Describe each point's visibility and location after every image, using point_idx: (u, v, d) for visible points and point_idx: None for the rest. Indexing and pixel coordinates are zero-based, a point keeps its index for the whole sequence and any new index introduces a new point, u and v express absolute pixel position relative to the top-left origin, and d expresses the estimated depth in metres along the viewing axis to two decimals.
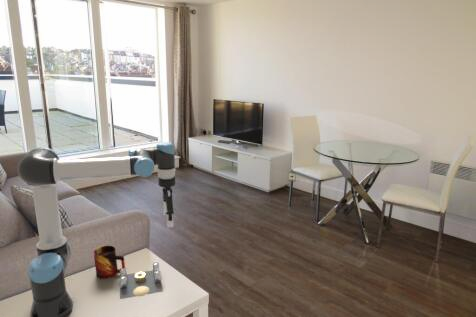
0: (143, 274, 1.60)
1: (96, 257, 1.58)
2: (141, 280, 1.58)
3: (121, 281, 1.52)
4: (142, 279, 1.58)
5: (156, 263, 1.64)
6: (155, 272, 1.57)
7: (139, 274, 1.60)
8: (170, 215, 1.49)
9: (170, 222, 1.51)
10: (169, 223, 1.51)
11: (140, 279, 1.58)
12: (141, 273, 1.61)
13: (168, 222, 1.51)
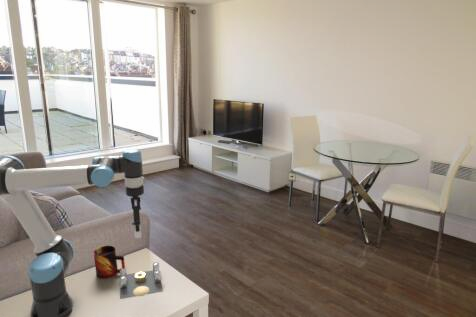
0: (143, 274, 1.60)
1: (96, 257, 1.58)
2: (141, 280, 1.58)
3: (121, 281, 1.52)
4: (142, 279, 1.58)
5: (156, 263, 1.64)
6: (155, 272, 1.57)
7: (139, 274, 1.60)
8: (137, 226, 1.43)
9: (138, 233, 1.45)
10: (137, 234, 1.45)
11: (140, 279, 1.58)
12: (141, 273, 1.61)
13: (135, 233, 1.45)
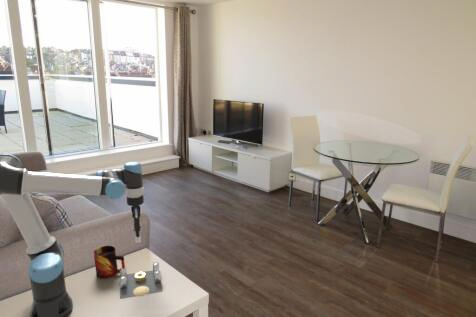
0: (143, 274, 1.60)
1: (96, 257, 1.58)
2: (141, 280, 1.58)
3: (121, 281, 1.52)
4: (142, 279, 1.58)
5: (156, 263, 1.64)
6: (155, 272, 1.57)
7: (139, 274, 1.60)
8: (137, 232, 1.59)
9: (138, 238, 1.61)
10: (137, 239, 1.61)
11: (140, 279, 1.58)
12: (141, 273, 1.61)
13: (136, 238, 1.61)
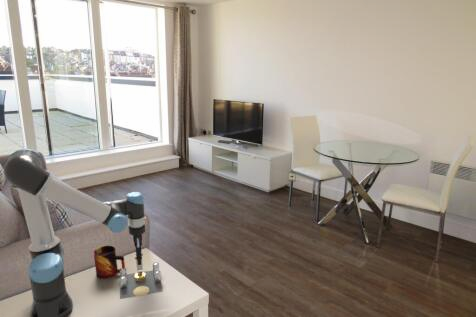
0: (143, 274, 1.60)
1: (96, 257, 1.58)
2: (141, 280, 1.58)
3: (121, 281, 1.52)
4: (142, 279, 1.58)
5: (156, 263, 1.64)
6: (155, 272, 1.57)
7: (139, 274, 1.60)
8: (139, 260, 1.63)
9: (139, 266, 1.65)
10: (138, 266, 1.65)
11: (140, 279, 1.58)
12: (141, 273, 1.61)
13: (137, 266, 1.65)
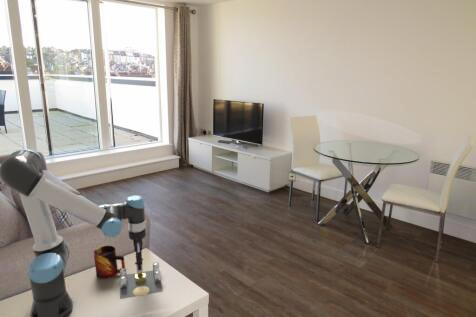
0: (143, 275, 1.59)
1: (96, 257, 1.58)
2: (141, 281, 1.57)
3: (121, 281, 1.52)
4: (142, 280, 1.58)
5: (156, 263, 1.64)
6: (155, 272, 1.57)
7: (139, 275, 1.59)
8: (139, 265, 1.59)
9: (139, 271, 1.61)
10: (139, 272, 1.61)
11: (140, 280, 1.57)
12: (141, 274, 1.60)
13: (138, 271, 1.61)
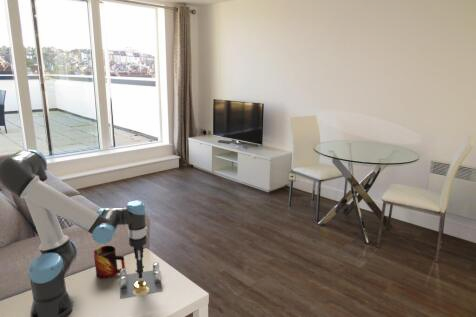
0: (143, 283, 1.53)
1: (96, 257, 1.58)
2: (139, 290, 1.51)
3: (121, 281, 1.52)
4: (141, 289, 1.51)
5: (156, 263, 1.64)
6: (155, 272, 1.57)
7: (139, 283, 1.53)
8: (140, 273, 1.53)
9: (140, 279, 1.55)
10: (139, 280, 1.55)
11: (138, 288, 1.51)
12: (141, 282, 1.54)
13: (138, 279, 1.54)
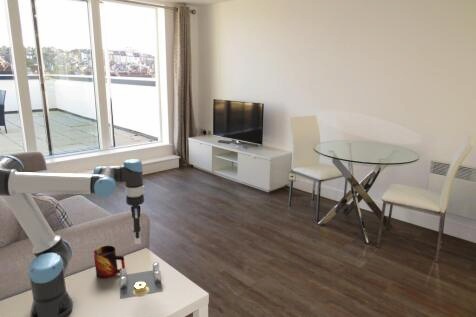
0: (143, 285, 1.52)
1: (96, 257, 1.58)
2: (139, 291, 1.50)
3: (121, 281, 1.52)
4: (141, 290, 1.50)
5: (156, 263, 1.64)
6: (155, 272, 1.57)
7: (139, 284, 1.52)
8: (137, 233, 1.52)
9: (137, 239, 1.54)
10: (136, 240, 1.54)
11: (138, 290, 1.50)
12: (141, 283, 1.53)
13: (135, 239, 1.54)
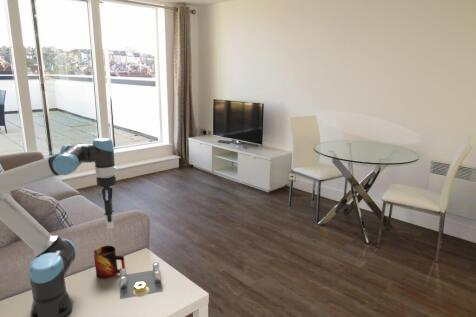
0: (143, 285, 1.52)
1: (96, 257, 1.58)
2: (139, 291, 1.50)
3: (121, 281, 1.52)
4: (141, 290, 1.50)
5: (156, 263, 1.64)
6: (155, 272, 1.57)
7: (139, 284, 1.52)
8: (109, 216, 1.44)
9: (110, 223, 1.46)
10: (109, 224, 1.46)
11: (138, 290, 1.50)
12: (141, 283, 1.53)
13: (108, 223, 1.46)
